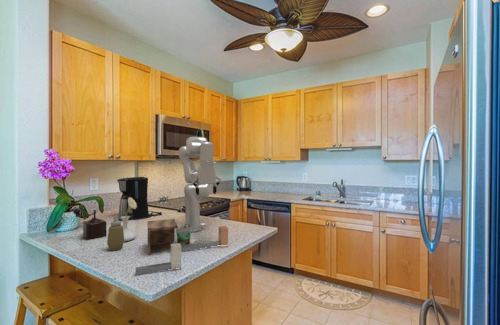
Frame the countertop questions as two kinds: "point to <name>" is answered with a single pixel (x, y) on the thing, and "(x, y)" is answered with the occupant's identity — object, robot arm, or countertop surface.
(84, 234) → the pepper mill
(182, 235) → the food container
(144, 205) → the coffee maker
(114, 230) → the squeeze bottle
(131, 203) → the flower in vase
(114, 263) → the countertop surface
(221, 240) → the crook tool
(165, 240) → the walnut cubby
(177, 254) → the l-shaped tool
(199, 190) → the robot arm
